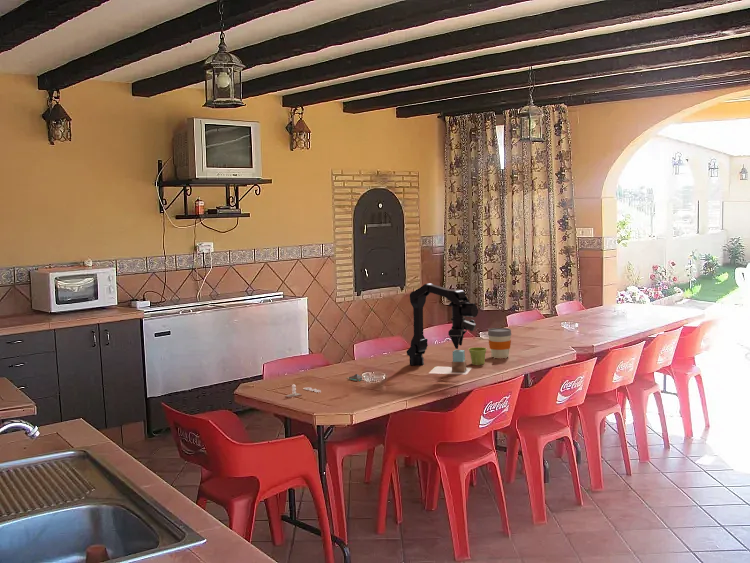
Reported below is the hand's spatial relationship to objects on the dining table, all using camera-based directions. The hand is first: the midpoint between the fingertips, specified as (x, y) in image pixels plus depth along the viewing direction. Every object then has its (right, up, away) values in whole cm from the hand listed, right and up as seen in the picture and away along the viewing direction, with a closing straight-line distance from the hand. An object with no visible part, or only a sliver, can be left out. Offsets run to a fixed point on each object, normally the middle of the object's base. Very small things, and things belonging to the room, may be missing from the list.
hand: (458, 347), depth 376 cm
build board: (-4, -13, +4) cm, 14 cm away
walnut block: (0, -12, +1) cm, 12 cm away
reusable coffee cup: (+26, -9, +37) cm, 46 cm away
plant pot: (+12, -11, +18) cm, 24 cm away
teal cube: (0, -7, +1) cm, 7 cm away
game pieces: (-65, -18, -19) cm, 70 cm away
